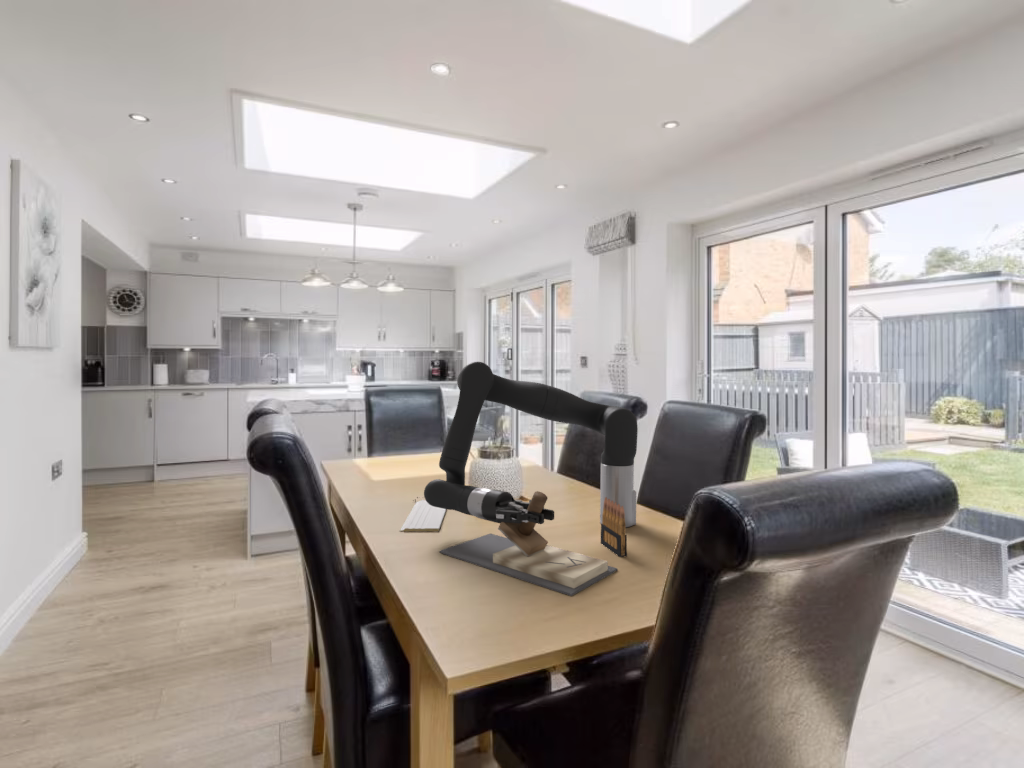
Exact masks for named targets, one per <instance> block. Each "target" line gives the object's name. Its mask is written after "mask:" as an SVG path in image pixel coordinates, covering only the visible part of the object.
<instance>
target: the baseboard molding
mask: <svg viewBox="0 0 1024 768" xmlns="http://www.w3.org/2000/svg"><path fill="white" fill-rule="evenodd" d="M416 498H417V499H419V497H418V496H417V497H416ZM412 501H413V502H414V505H413V507H412V509H411V510H410V512H409V513H408V515H407V517H406V519H405V521H404V522H403V524H402V526H401V528H400V530H399V532H400V531H438V532H439V530H440V528H441V526H442V523H443V520H444V517H445V514H446V512H447V509H443V508H438V507H434V506H431V505H429V504H428V503H427V501H426V500H425V499H421V500H419V501H417V500H416V499H413V500H412ZM413 502H412V503H413Z"/></svg>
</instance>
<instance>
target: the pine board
mask: <svg viewBox="0 0 1024 768" xmlns="http://www.w3.org/2000/svg"><path fill="white" fill-rule="evenodd" d="M493 563H496V564H499V565H502V566H505V567H508V568H512V569H515V570H518V571H521V572H524V573H527V574H530V575H534V576H537V577H540V578H543V579H546V580H549V581H552V582H556V583H559V584H562V585H565V586H568V587H571V588H576V587H578V586H580V585H581V584H583V583H585V582H587V581H589V580H591V579H592V578H594V577H596V576H598V575H600V574H602V573H604V572H605V571H607V570H608V566H609V561H608V560H604V559H600V558H597V557H593V556H589V555H587V554H582V553H579V552H574V551H570V550H568V549H567V550H566V549H564V548H560V547H556V546H553V545H548V544H547V545H546V547H545V549H544V551H541V552H539V553H536V554H534V555H532V556H529V557H527V556H526V555H525V554H524V553H523V552H522V551H521V550H520V549H519V548H518V547H516V546H512V547H509V548H507V549H504V550H502V551H499V552H496V553H494V554H493Z"/></svg>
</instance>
